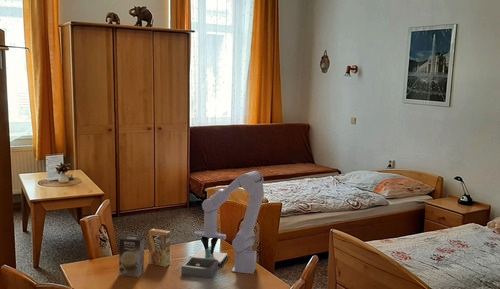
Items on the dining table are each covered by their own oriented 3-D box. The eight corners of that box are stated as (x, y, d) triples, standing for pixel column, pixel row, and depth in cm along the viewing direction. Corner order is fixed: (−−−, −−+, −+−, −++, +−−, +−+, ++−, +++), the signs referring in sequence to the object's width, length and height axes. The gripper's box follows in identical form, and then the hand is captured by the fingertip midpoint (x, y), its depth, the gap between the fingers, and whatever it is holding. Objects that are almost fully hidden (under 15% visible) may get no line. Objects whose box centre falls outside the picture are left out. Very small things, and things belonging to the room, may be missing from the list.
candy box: (170, 263, 210) (170, 230, 208) (165, 267, 206) (166, 233, 204) (153, 260, 213) (153, 228, 211) (148, 263, 209) (148, 230, 207)
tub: (217, 268, 207) (218, 260, 206) (210, 278, 196) (211, 269, 196) (189, 265, 209) (190, 256, 209) (181, 275, 199) (181, 266, 198)
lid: (227, 256, 220) (227, 246, 220) (220, 264, 209) (220, 254, 208) (198, 253, 223) (199, 242, 223) (190, 261, 211) (190, 250, 211)
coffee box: (118, 275, 196) (118, 238, 193) (123, 269, 202) (123, 233, 200) (139, 277, 195) (139, 240, 192) (144, 271, 201) (144, 235, 199)
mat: (229, 256, 221) (229, 256, 221) (222, 267, 208) (222, 266, 208) (197, 253, 224) (197, 252, 224) (188, 263, 212) (188, 262, 211)
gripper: (228, 223, 216) (227, 251, 218) (197, 220, 219) (197, 248, 221) (224, 227, 210) (223, 257, 211) (193, 224, 212) (192, 253, 214)
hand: (209, 252), depth 216 cm, fingers closed on lid
